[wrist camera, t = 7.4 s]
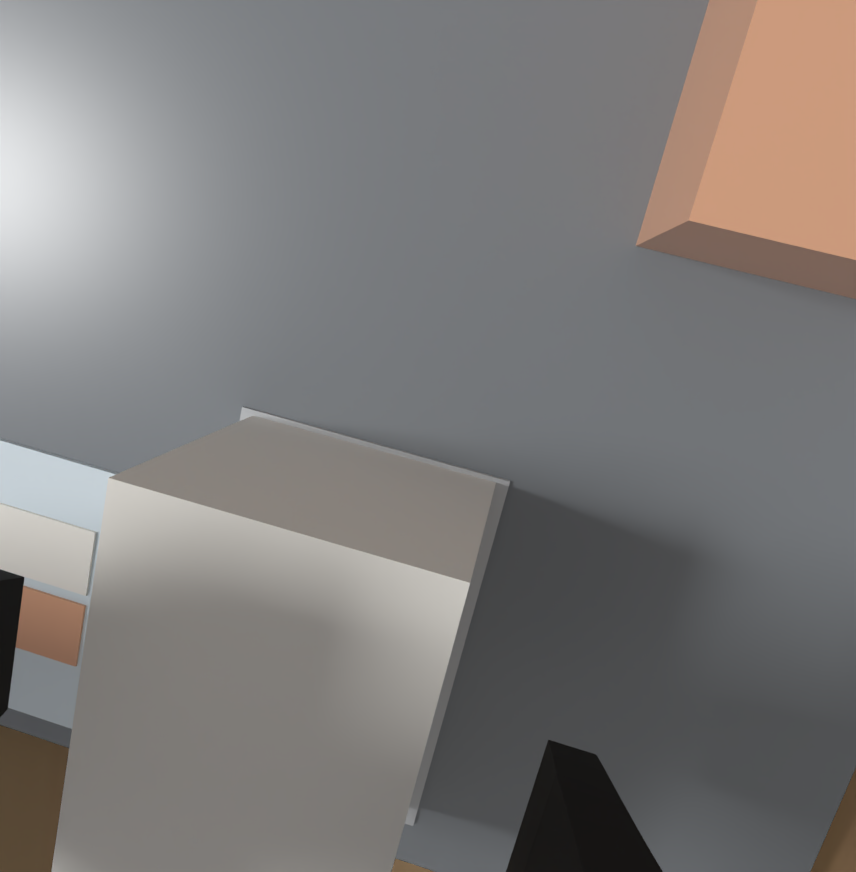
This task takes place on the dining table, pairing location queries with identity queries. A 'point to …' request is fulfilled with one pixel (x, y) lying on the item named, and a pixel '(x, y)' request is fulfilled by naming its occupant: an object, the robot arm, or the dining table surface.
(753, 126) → the terracotta brick
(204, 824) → the off-white brick
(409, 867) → the dining table surface
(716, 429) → the baseplate
